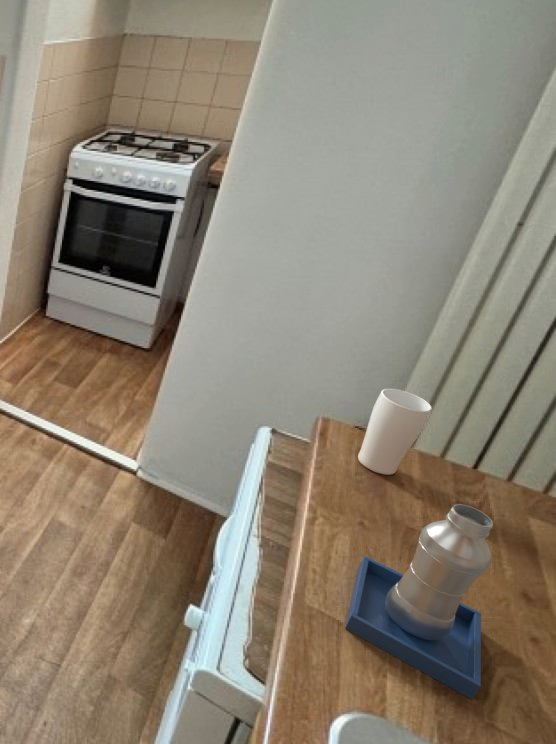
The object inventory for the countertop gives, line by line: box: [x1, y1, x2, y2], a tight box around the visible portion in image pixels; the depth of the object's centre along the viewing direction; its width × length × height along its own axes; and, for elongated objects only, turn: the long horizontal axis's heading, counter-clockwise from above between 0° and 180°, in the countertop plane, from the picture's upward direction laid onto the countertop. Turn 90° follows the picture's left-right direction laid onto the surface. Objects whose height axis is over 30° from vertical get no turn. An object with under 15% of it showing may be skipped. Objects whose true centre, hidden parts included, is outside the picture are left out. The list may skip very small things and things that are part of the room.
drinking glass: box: [357, 388, 433, 476], centre depth 108 cm, size 7×7×15 cm
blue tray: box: [344, 555, 482, 700], centre depth 82 cm, size 14×12×3 cm
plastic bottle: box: [385, 503, 494, 640], centre depth 79 cm, size 6×7×20 cm
